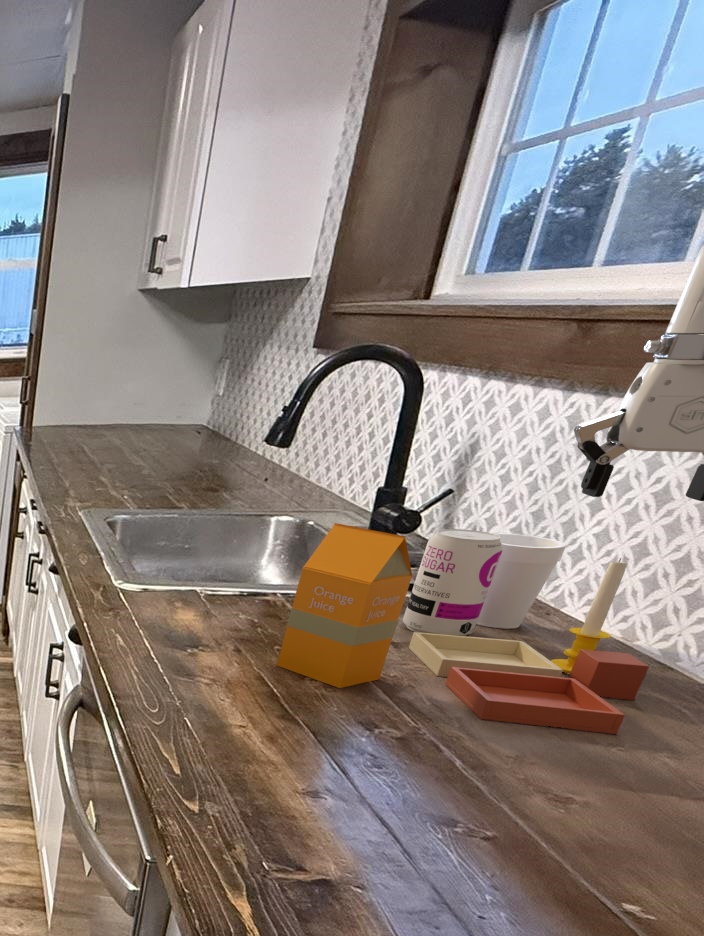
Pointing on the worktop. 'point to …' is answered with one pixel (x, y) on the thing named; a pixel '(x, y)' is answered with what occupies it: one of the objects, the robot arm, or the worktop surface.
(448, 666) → the cream tray
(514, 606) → the foam cup
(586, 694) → the terracotta tray
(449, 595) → the supplement can
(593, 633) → the candle
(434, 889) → the worktop surface
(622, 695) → the terracotta block
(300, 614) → the orange juice
